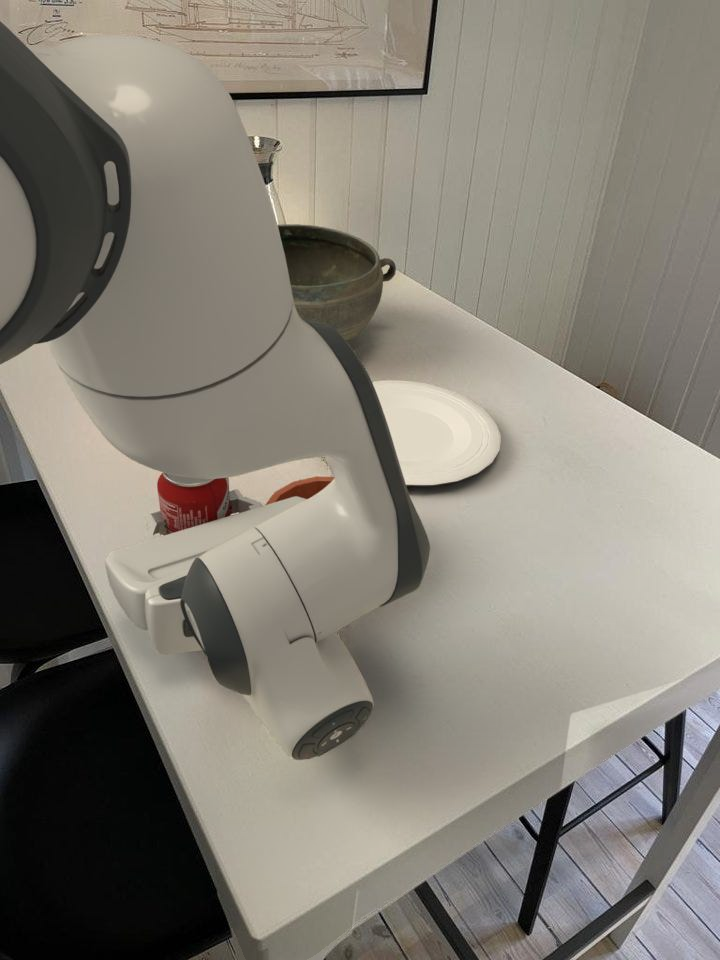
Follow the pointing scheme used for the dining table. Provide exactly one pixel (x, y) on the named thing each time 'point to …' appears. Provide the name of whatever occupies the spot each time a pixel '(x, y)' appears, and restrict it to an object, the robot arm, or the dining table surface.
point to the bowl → (333, 276)
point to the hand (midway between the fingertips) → (192, 506)
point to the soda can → (192, 501)
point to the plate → (437, 432)
